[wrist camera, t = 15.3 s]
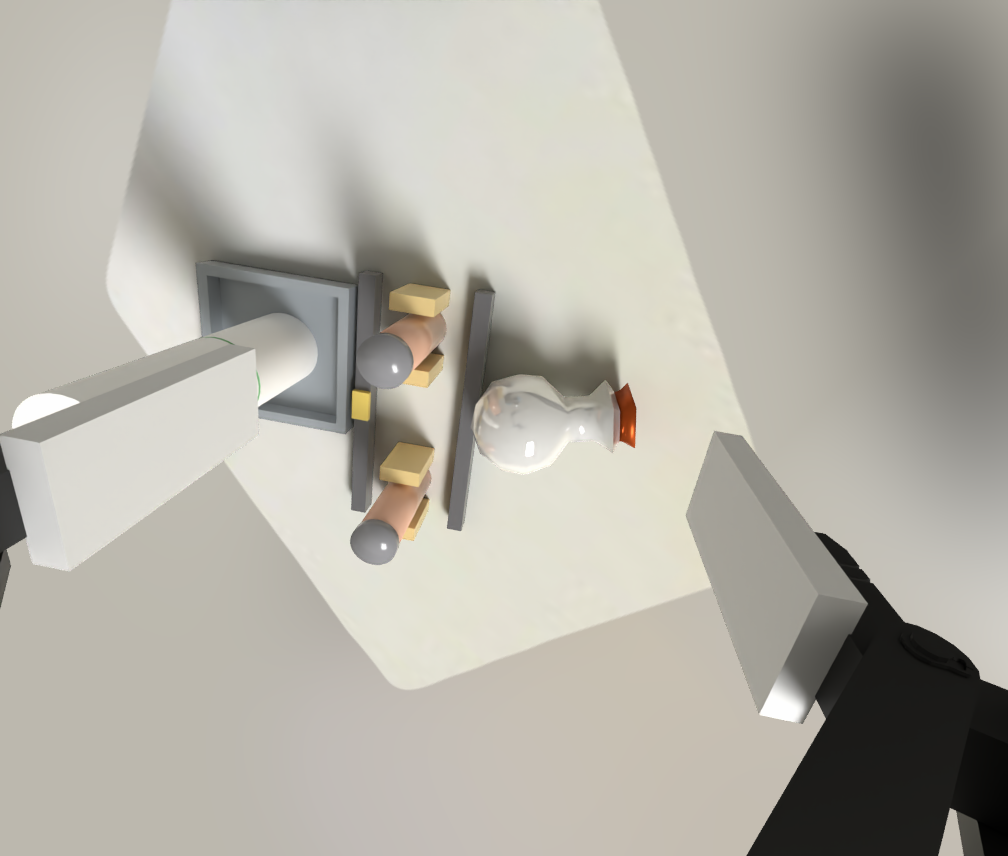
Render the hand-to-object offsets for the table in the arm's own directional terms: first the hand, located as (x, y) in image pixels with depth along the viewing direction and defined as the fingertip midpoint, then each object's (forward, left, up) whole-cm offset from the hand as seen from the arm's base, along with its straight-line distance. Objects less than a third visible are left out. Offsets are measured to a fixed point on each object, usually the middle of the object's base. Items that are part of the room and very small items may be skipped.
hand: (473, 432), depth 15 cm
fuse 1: (+6, -11, -37) cm, 39 cm away
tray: (+11, -25, -37) cm, 46 cm away
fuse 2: (+23, -11, -37) cm, 45 cm away
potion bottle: (+12, +3, -37) cm, 39 cm away
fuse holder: (+15, -11, -37) cm, 41 cm away
